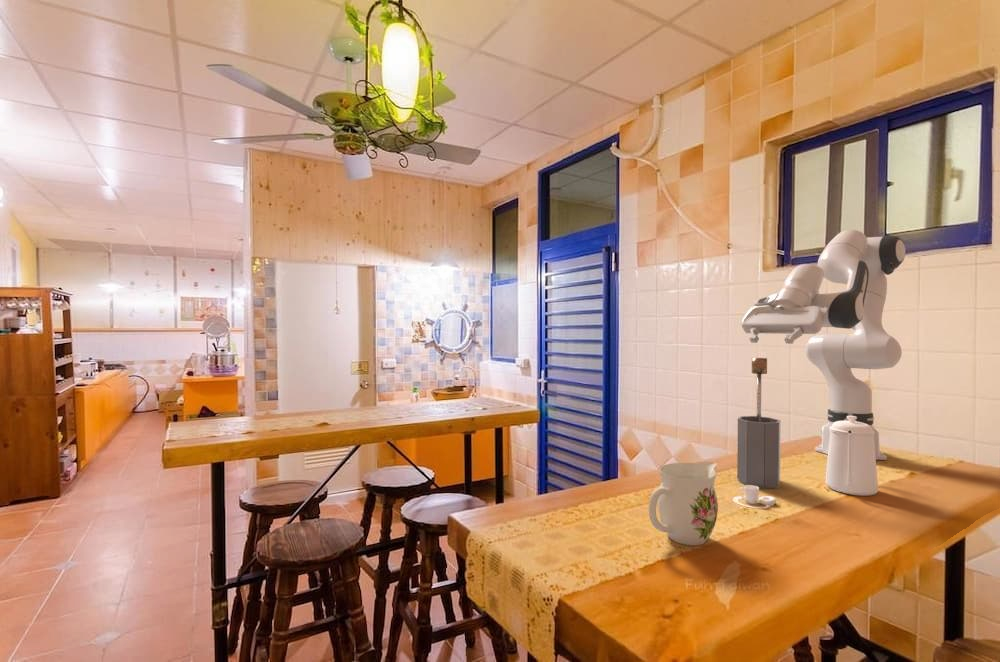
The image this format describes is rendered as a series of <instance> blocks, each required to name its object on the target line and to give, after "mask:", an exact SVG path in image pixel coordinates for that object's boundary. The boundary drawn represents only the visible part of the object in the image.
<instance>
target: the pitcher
mask: <svg viewBox="0 0 1000 662" xmlns="http://www.w3.org/2000/svg"><path fill="white" fill-rule="evenodd" d="M717 466H718V463H716V462H712V461H699V462H697V461H696V462H673V463H668V464H664V465H661V466H660V467H659V473H660V478H661V483H660V484H659V487H657V488H656V489H654V490H653V491H652V493H651V494H650V497H649V503H648V516H649V520H650V522H651V525H652V526H653V527H654V528H655V529H656V530H658V531H659V532H662V533H666V534H667V535H668V537H669V538H670V539H671V540H672V541H674V542H676V543H678V544H681V545H685V546H700V545H703V544H705V543H706V541H708V539H709V538H710V536H711V535H712V533H713V531H714V528H715V526H716V523H717V519H718V509H719V508H718V507H719V505H718V503H719V502H718V497H717V496H718V495H717V492H716V490H715V489H716V488H715V486H714V485H715V481H716V477H717V471H716V470H715V469H716V468H717ZM657 510H658V514H659V519H660V521H659V520H658V517H657Z"/></svg>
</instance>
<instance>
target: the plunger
mask: <svg viewBox="0 0 1000 662" xmlns="http://www.w3.org/2000/svg"><path fill="white" fill-rule="evenodd" d="M751 373H752V374H753V375H754V374H756V416H757V422H761V417H762V375H767V374H768V358H767V357H751Z"/></svg>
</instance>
